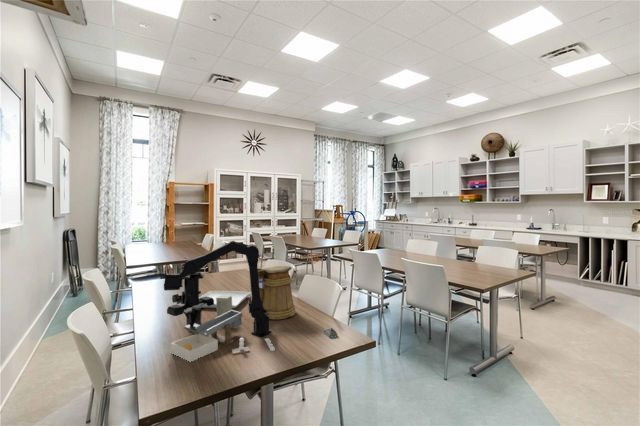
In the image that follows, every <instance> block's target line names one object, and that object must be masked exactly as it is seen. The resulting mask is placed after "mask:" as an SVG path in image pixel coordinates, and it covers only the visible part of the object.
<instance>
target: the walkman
mask: <svg viewBox="0 0 640 426" xmlns="http://www.w3.org/2000/svg"><path fill="white" fill-rule="evenodd" d="M263 279H264V278H261V279H259V287H260V288H264V284H263V283H262V280H263Z"/></svg>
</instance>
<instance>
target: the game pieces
mask: <svg viewBox="0 0 640 426" xmlns="http://www.w3.org/2000/svg"><path fill="white" fill-rule="evenodd" d="M323 329H324V330H323V333H324V335H325V336H327V337H328V338H329V339H334V338H338V333H337V332H336V330H335V329H334V328H333V327H330V328H323ZM333 337H334V338H333ZM264 341H265V344H266V345H267V347H268V348H269V351H270V352H273V351H275V350H276V348H275V346H274V345H273V343H272V340H271V339H270V338H269V337H267V338H264ZM244 342H245V338H244V337H240V338H239V347H237V348H231V353H232V356H234V355H235V356H236V355H239V354H245V353H250V352H251V350H250V347H249V346H244V345H245V343H244Z"/></svg>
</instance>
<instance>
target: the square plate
mask: <svg viewBox="0 0 640 426" xmlns="http://www.w3.org/2000/svg"><path fill="white" fill-rule="evenodd" d="M206 296H207V297H210V298H213V299H214V305H211V306H208V305H206V304H203V305H202V308H203V309H205V308H206V309H217V302H216V298H217V297H219V296H232V309H236V308H237V307H238V306H239V305H240V304H241V303H242V302H243V301H244V300H246V299H247V298H249V296H251V291H243V290H242V291H241V290H240V291H239V290H210V291H208V292H206V293H205V294H204V293H203V294H202V295H201V296H199V299H200V298H202V297H206Z"/></svg>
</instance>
